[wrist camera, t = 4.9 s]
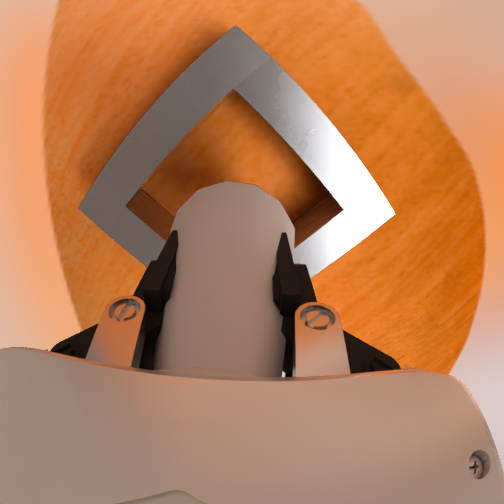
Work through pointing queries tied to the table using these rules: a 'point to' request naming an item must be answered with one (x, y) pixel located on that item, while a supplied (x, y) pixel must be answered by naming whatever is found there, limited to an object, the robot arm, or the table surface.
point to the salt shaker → (225, 285)
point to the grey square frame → (278, 116)
